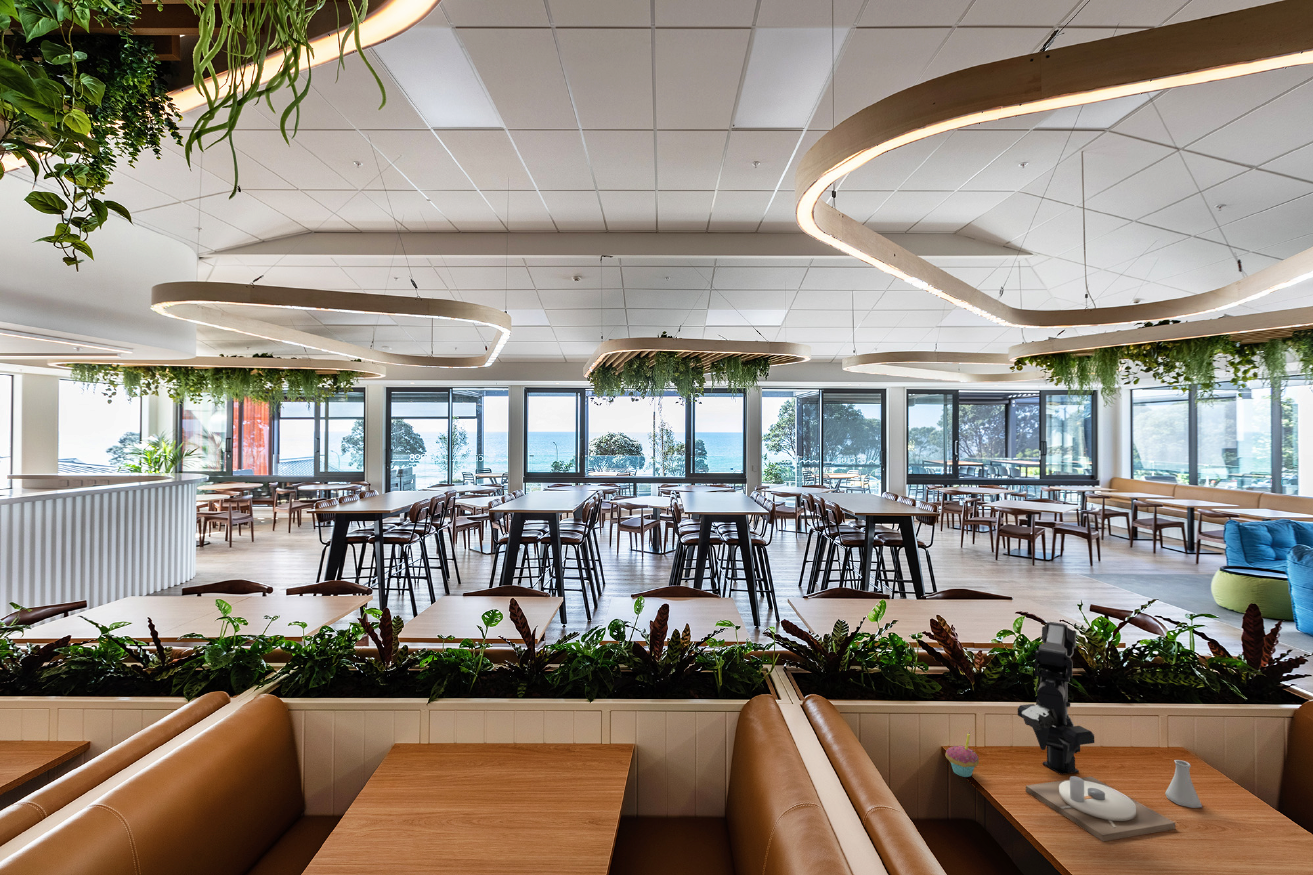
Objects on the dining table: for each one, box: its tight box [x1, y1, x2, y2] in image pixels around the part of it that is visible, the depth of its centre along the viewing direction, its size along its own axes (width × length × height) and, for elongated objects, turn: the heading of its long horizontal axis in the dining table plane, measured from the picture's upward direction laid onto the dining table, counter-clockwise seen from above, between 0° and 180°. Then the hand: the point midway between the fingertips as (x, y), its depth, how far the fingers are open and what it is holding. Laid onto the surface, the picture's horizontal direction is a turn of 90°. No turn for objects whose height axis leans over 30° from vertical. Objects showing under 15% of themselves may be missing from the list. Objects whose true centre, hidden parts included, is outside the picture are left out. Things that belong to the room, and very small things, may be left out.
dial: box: [1059, 775, 1136, 821], centre depth 155 cm, size 16×16×6 cm
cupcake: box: [945, 731, 980, 778], centre depth 172 cm, size 9×8×12 cm
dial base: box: [1025, 776, 1176, 842], centre depth 155 cm, size 22×22×2 cm
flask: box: [1164, 759, 1203, 809], centre depth 159 cm, size 7×7×10 cm
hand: (1054, 755), depth 160 cm, fingers open, 7 cm apart
